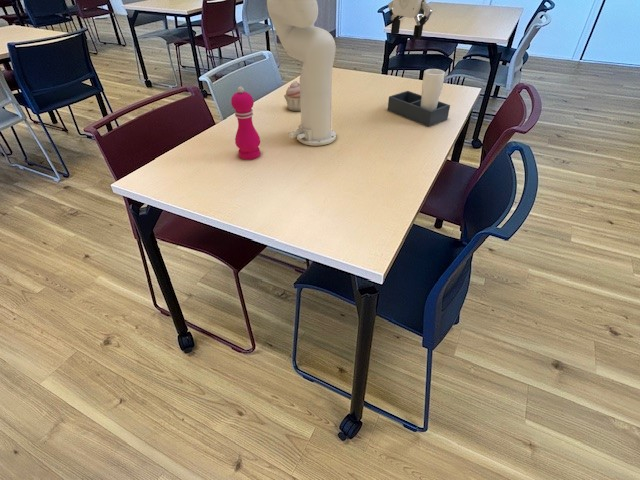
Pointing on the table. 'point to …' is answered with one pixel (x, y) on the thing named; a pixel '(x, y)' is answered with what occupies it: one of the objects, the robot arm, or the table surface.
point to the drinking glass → (432, 88)
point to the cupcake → (293, 97)
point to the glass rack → (417, 109)
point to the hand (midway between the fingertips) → (405, 36)
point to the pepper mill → (245, 125)
